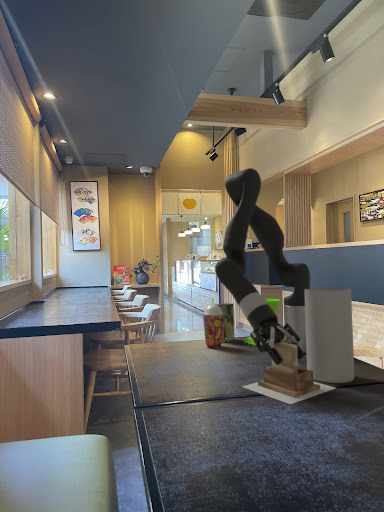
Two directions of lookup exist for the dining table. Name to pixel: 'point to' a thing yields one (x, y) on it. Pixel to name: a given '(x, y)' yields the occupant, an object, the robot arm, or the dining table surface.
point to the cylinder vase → (329, 334)
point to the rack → (289, 382)
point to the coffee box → (227, 321)
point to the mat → (285, 397)
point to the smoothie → (213, 325)
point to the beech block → (286, 358)
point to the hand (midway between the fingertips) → (291, 360)
